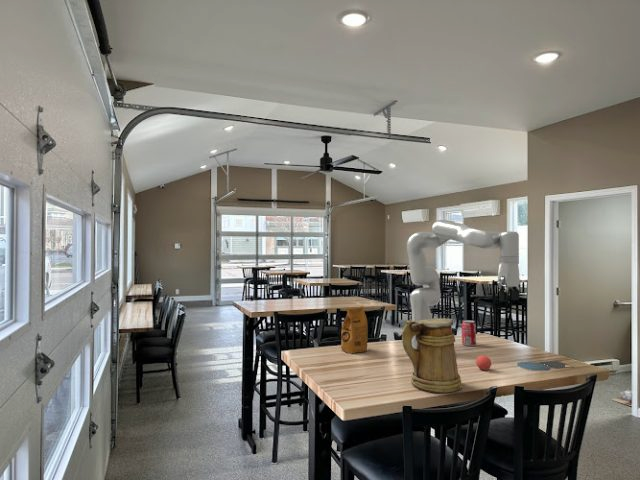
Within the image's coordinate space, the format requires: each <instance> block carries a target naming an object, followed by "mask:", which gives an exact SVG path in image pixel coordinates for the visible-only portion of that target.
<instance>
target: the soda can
mask: <svg viewBox="0 0 640 480" xmlns="http://www.w3.org/2000/svg"><path fill="white" fill-rule="evenodd" d="M476 329H477V327H476V322H475V320H469V319H464V320H462V323H461V344H462V345H463V346H464V347H468V348H469V347H476V345H477V330H476Z"/></svg>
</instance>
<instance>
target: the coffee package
mask: <svg viewBox="0 0 640 480" xmlns="http://www.w3.org/2000/svg"><path fill="white" fill-rule="evenodd" d="M345 311H347V313H346V316H345V319H344V320H343V323H342V325H341V329H340V330H341V342H340V344H341V345H340V349H341V351H342V352H345V353H347V354H351V355H354V354H355V353H360V352H361V353H364V352H367V351H368V335H369V334H368V332H369V330H368V319H367V315H366V313H365V310H364V306H363V305H361V306H359V307H346V310H345ZM353 353H354V354H353Z"/></svg>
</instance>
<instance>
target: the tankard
mask: <svg viewBox="0 0 640 480" xmlns="http://www.w3.org/2000/svg"><path fill="white" fill-rule="evenodd" d="M453 325H454V320H453V319H452V318H444V317H443V318H431V319H427V320H421V321H418V322H415V321H412V320H406V323H405V324H404V326H403V329H402V333H401V341H402V342H401V343H402V347H403V349H404V351H405V354H406V356H407V357H408V358H409V360H410V362H411V363H412V368H413V371H412V373H411V381H410V382H411V385H413V386H414V387H416V389H418V390H422V391H423V392H424V391H425V392H429V393H436V394H440V393H442V394H443V393H445V394H446V393H452V392H456V391H458V390H460V389H461V388H462V387H463V383H462V380H461V376H460V374H459V371H458V369H459V368H458V363H457V362H458V361H457V353H456V350H455V343H456V337H455V334H454V332H453V329H452V326H453ZM415 335H416V337H415V340H416V341H417V347H416V349H414V348H413V347H412V345H411V342H412V338H413V337H414V336H415Z"/></svg>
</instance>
